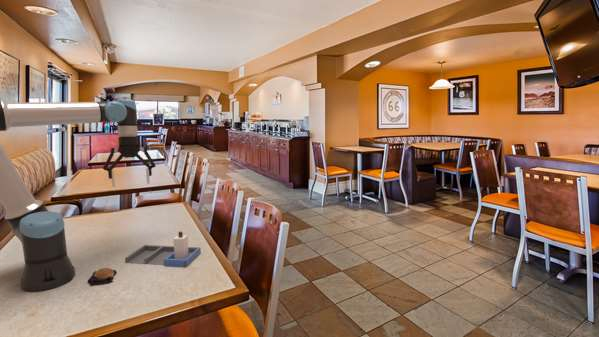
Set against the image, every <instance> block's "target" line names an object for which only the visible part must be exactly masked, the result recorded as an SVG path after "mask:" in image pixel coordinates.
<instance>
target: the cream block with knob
mask: <svg viewBox="0 0 599 337" xmlns="http://www.w3.org/2000/svg"><path fill="white" fill-rule="evenodd" d="M177 234H178V235H176V236H175V237H174V238H173V246H174V256H175V259H186V258H187V257H188V256H189V250H188V247H189V235H186V234H185V235H183V231H178V233H177Z"/></svg>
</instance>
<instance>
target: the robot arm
mask: <svg viewBox="0 0 599 337" xmlns="http://www.w3.org/2000/svg"><path fill="white" fill-rule="evenodd" d="M137 110H138V109H137V104H136V101H135V100H133V99H129V98H128V99H127V98H117V99H116V100H115V101H114V100H112V101H57V102H56V101H55V102H53V101H52V102H50V101H47V102H44V101H43V102H42V101H40V102H36V101H35V102H34V101H33V102H5V101H4V100H2V99H0V132H6V131H8V130H9V129H10V128H19V127H40V126H57V125H59V126H60V125H74V124H95V123H97V124H98V123H116V124H117V135H118V138H117V139H118V148H117V147H111V148H110V153H109V155H108V157H107V159H106V161H105V164H104V165H103V168H102V169H103V170H104V171H107V174H108V179H109V180H111V185H112V186H111V187H113V188H115V187H116V186H115V185H116V184H115V172H114V170H113V169H115V167H116V166H117V165H118V163H119V162H120V161H121V160H122V159H123V158H125V159H127V158H132V159H133V158H135V157H136V158H137V159H138V160H139V161H140V162H141V163H142V164H143V165H144V166H145V167H147V168H146V169H145V171H146V184H148V185H149V184H150V177H151V176H153V175H152V174H153V172H152V170H153V169H154V168H156V166H157V165H156V163H155V162H154V160H153V158H152V157H151V155H150V154H149V152H148V149H147V147H146V146H143V147H140V146H139V137H138V135H139V134H138V133H139V132H138V131H139V130H138V117H137V116H138V115H137V112H138V111H137ZM140 151H141V152H142V153H144V155H145V157H146V158H147V160H148V161H149V163H148V162H147V161H145V159H144V158H143V157H142V156H141V155H140V154H139V152H140ZM117 152H118V153H119V156H117V158H116V159H115V160H114V161H113V162H112V164H111V165H110V163H111V160H112V159H113V157H114V156H115V155H114V154H116V153H117ZM109 165H110V166H109ZM0 204H1V205H2V207H3V208H4V209H5V214H4V217H3V218H4V219H5V221H6V223H7V225H8V226H9V227H10V228H11V231H12V233H13V234H14V236H15V237H16V238H18V240H19V241H20V242H21V245H22V251H23V252H22V253H23V257H24V267H23V271H22V277H21V278H20V288H21V290H22V291H25V292H41V291H46V290H51V289H55V288H58V287H61V286H63V285H65V284H67V283H69V282H71V281H72V280H73V279H74V277H76V268H75V266H74V265H73V264H72V261H71V260H70V257H69V255H68V251H67V250H68V249H67V240H66V232H65V231H66V230H65V220H64V218H63V215H62V214H60V213H58V212H56V211H49V210H48V209H47V207H46V206H45V204H44V202H43V201H42V200H39V199H35V197H34V195H33V194H32V192H31V191H30V188H28V186H27V184H26V183H25V181H24V180H23V178H22V176H21V175H20V172H18V169H17V168H16V167H15V164H14V163H13V161H12V160H11V158H10V157H9V155H8V153H7V152H6V150H5V149H4V147H3V145H2V144H1V143H0Z"/></svg>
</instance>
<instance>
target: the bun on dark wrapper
mask: <svg viewBox="0 0 599 337" xmlns="http://www.w3.org/2000/svg"><path fill="white" fill-rule="evenodd" d="M116 275H117V270H116V269H112V268H111V267H104V268H99V269H98V270H95V271H94V272H93V273H92V275H91V276H90V277H89V278H88V279H87V283H88V285H89V286H90V287H95V286H96V287H97V286H104V285H107V284H112V283H113V282H114V279H115V278H114V277H115V276H116Z"/></svg>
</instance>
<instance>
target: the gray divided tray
mask: <svg viewBox="0 0 599 337" xmlns="http://www.w3.org/2000/svg"><path fill="white" fill-rule="evenodd" d="M188 250H189V256H188V257H187V258H186V259H175V256H174V245H172V246H171V245H155V244H154V245H153V244H143V245H142V246H140V247H139V248H137V249H135V250H134V251H132V252H131V253H130V254H128V255H127V256H125V257H124V264H133V265H134V264H135V265H151V266H152V265H153V266H164V267H178V268H179V267H180V268H181V267H182V268H187V267H188V266H189V265H190V264H191V263H192V262H193V261H194V260H195V259H196V258H197V257H198V256H199V255H201V253H202V252H201V247H198V246H197V247H194V246H188Z"/></svg>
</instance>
